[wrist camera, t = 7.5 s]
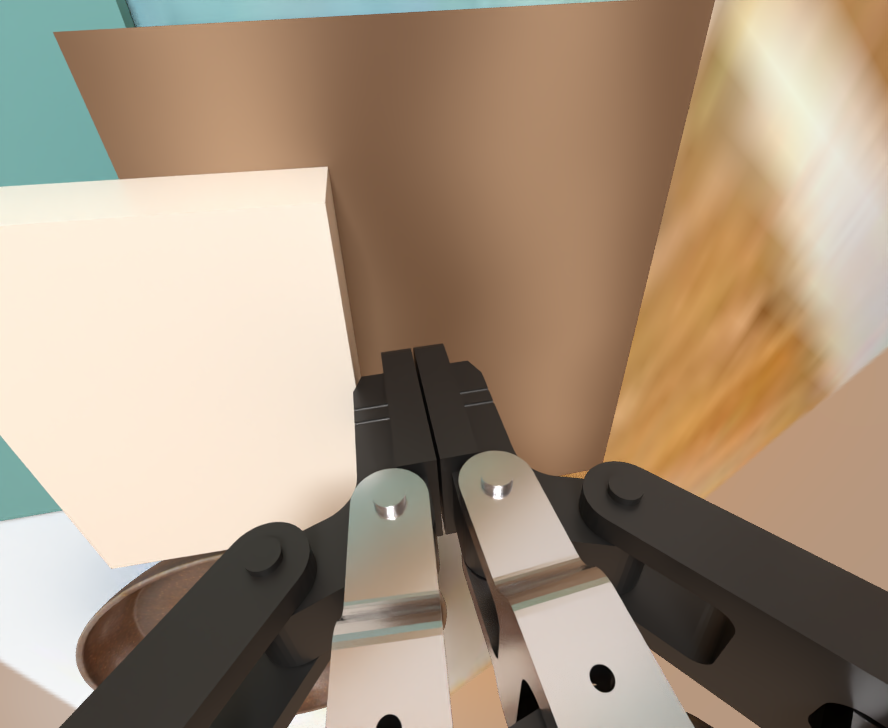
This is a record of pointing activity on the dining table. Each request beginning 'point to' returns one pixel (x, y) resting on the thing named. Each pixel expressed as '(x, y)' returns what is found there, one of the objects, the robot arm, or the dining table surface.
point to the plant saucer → (157, 620)
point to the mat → (45, 147)
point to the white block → (179, 356)
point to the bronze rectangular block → (444, 173)
